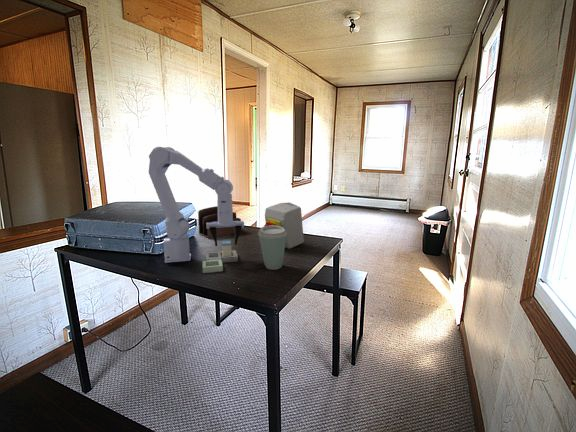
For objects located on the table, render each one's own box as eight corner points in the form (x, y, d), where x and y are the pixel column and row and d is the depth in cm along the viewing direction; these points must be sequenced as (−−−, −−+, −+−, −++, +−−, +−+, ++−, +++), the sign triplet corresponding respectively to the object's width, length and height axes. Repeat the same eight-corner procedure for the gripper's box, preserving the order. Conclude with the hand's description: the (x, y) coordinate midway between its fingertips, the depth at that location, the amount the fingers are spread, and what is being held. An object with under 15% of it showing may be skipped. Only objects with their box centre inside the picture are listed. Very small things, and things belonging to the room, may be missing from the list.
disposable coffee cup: (292, 268, 111) (292, 229, 108) (265, 274, 106) (265, 233, 102) (278, 259, 120) (278, 223, 117) (254, 264, 115) (253, 226, 111)
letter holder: (198, 235, 155) (197, 208, 152) (231, 228, 168) (231, 204, 165) (207, 239, 147) (206, 211, 144) (241, 232, 160) (241, 206, 157)
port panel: (206, 264, 114) (206, 258, 114) (206, 257, 122) (205, 251, 121) (237, 261, 118) (237, 255, 117) (235, 254, 125) (235, 249, 125)
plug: (222, 261, 118) (222, 243, 116) (222, 258, 121) (221, 241, 120) (231, 260, 119) (231, 243, 117) (230, 257, 122) (230, 240, 121)
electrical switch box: (260, 248, 140) (254, 208, 134) (284, 238, 149) (279, 200, 143) (280, 256, 130) (275, 213, 124) (304, 245, 139) (300, 204, 133)
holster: (202, 273, 106) (202, 267, 106) (202, 265, 113) (202, 261, 112) (222, 271, 108) (222, 265, 108) (221, 264, 115) (221, 259, 114)
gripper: (206, 214, 111) (207, 249, 113) (245, 212, 115) (245, 246, 117) (205, 210, 117) (207, 243, 120) (242, 209, 121) (243, 241, 124)
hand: (226, 244), depth 119 cm, fingers open, 7 cm apart
